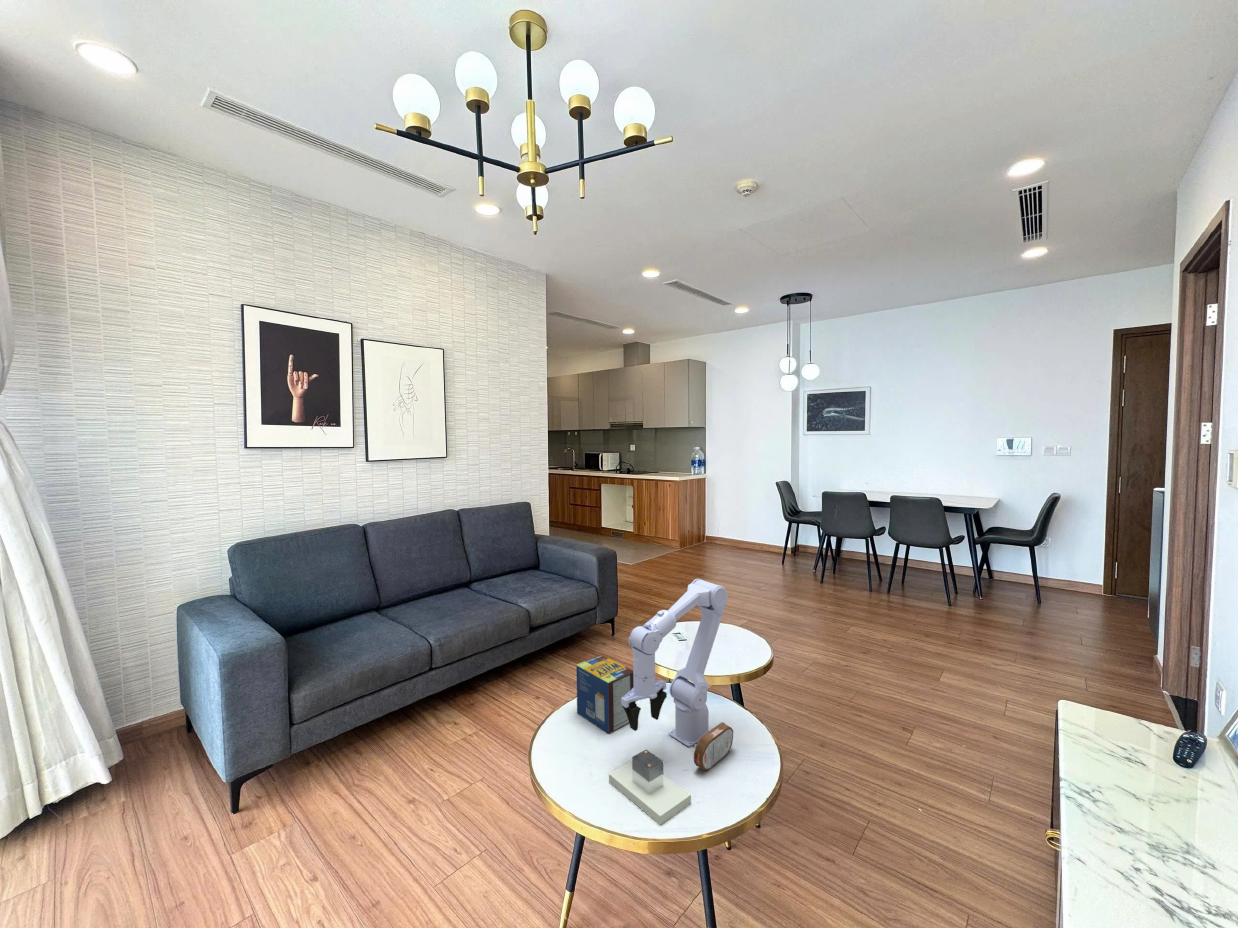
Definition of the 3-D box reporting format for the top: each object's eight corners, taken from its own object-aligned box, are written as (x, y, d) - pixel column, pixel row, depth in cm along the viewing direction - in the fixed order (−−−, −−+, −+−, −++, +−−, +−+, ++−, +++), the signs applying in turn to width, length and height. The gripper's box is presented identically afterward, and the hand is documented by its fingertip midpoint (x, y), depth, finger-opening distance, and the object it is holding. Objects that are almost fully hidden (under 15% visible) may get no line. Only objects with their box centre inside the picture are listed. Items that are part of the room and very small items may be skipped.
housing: (646, 772, 123) (646, 747, 123) (663, 785, 119) (663, 759, 118) (632, 780, 120) (632, 755, 120) (649, 794, 116) (649, 768, 115)
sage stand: (638, 764, 129) (638, 756, 129) (690, 802, 116) (690, 794, 116) (609, 781, 123) (608, 773, 123) (660, 824, 109) (660, 816, 109)
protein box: (601, 700, 161) (601, 653, 160) (634, 720, 149) (634, 670, 148) (576, 713, 154) (575, 664, 153) (608, 734, 142) (608, 682, 141)
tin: (725, 745, 137) (725, 716, 136) (735, 750, 135) (735, 720, 134) (692, 772, 126) (692, 740, 126) (702, 778, 124) (702, 745, 124)
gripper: (633, 688, 123) (634, 741, 124) (674, 670, 132) (674, 719, 133) (615, 677, 128) (616, 728, 129) (655, 661, 138) (656, 708, 139)
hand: (644, 723), depth 132 cm, fingers open, 7 cm apart
